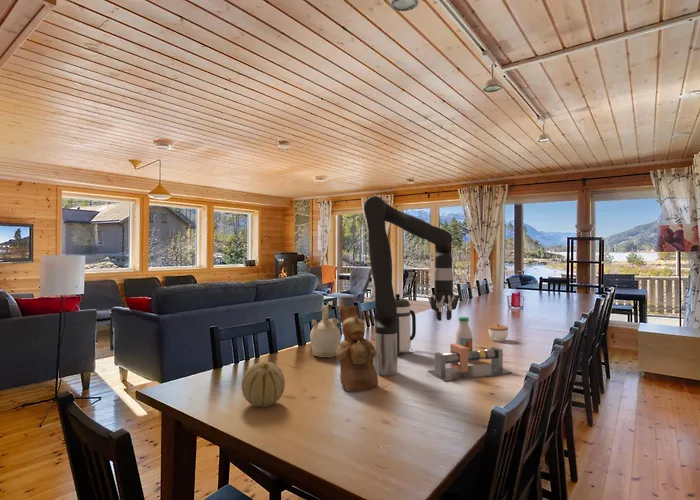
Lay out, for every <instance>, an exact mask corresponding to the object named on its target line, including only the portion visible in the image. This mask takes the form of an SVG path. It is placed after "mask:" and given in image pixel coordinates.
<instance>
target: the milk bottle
mask: <svg viewBox="0 0 700 500" xmlns="http://www.w3.org/2000/svg"><path fill="white" fill-rule="evenodd" d="M469 321H470V319H469V317H468V316H459V317H458V322H459V323H458V324H459V325H458V327H457V329H456V332H455V344H459V345H461V346H464V347H467V348H468V351H473V333H472V330H471V328H470V325H469V323H470V322H469Z"/></svg>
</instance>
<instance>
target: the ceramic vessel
mask: <svg viewBox="0 0 700 500" xmlns="http://www.w3.org/2000/svg"><path fill="white" fill-rule="evenodd" d="M339 315H340V322H341V330H342V334H343V336H344V337H343V338H344V339H343V341H340V344H339V346H338V348H337V351H336V356H335V357H336V359H337V360H338V362H339V366H340V370H339V371H340V372H339V373H340V375H339V378H340V379H339V380H340V384H341V386H342V388H343V389H344V390H345V391H347V392H364V391H365V392H366V391H371V390H374V389H376V388H377V387H378V384H379V378H378V374H377V373H376V371H375V368H374V356H375V354H376V350H375V349H376V347H375V346H374V345H373V343H372V342H371V341H370V340H369V339H366V338H365V332H366V328H365V322H364V321H363V320H362V319H361V317H360V310H359V307H358V306H357V305H352V306H344V307H341V308H339Z"/></svg>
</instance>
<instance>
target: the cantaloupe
mask: <svg viewBox="0 0 700 500" xmlns="http://www.w3.org/2000/svg"><path fill="white" fill-rule="evenodd" d="M241 381H242V382H241V391H242V395H243V397H244V398H245V400H246V402H248V404H250V405H251V406H253V407H258V408H266V407H270V406H272V405H274V404H277V402H278V401H279V400H280V398H281V397H282V396H283V394H284V392H285V391H284V390H285V387H286V380H285V376H284V373H283V371H282V369H281V367H279V366H278V365H276V363H273V362H271V361H260V362H257V363H255V364H253V365H251V366H250V367H248V369H247V370H246V372H245V373H244V375H243V377H242V380H241Z"/></svg>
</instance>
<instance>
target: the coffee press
mask: <svg viewBox="0 0 700 500" xmlns="http://www.w3.org/2000/svg"><path fill="white" fill-rule="evenodd" d="M400 297H401V295H400V294H399V293H396V294H395V300H396V303H397V357H400V353H405V352H406V353H407V352H409V353H410V354H413V352H414V350H413V349H412V348H411V341H412V340H414V339H415V337H416V334H417V333H416V331H417V329H416V328H417V325H416V324H417V323H416V322H417V321H416V314H415V311H414V310H411V303H410V301H409V300H408V299H406V298H400ZM411 323H412V324H411ZM411 326H412V327H411ZM410 350H411V351H410Z"/></svg>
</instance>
